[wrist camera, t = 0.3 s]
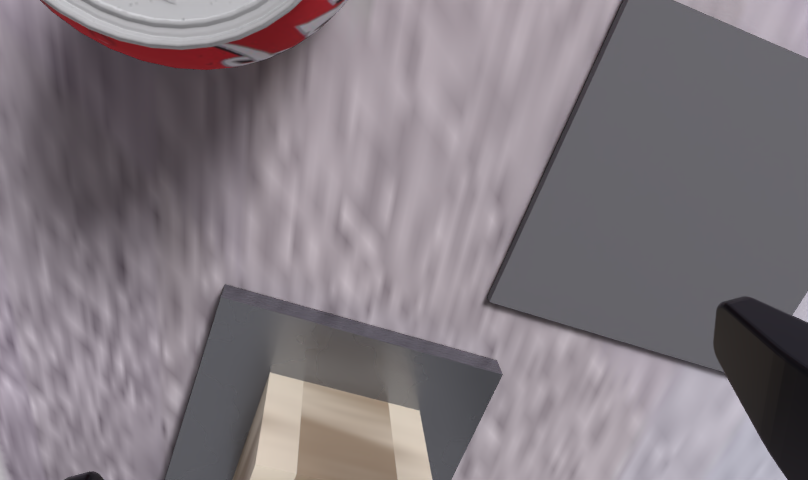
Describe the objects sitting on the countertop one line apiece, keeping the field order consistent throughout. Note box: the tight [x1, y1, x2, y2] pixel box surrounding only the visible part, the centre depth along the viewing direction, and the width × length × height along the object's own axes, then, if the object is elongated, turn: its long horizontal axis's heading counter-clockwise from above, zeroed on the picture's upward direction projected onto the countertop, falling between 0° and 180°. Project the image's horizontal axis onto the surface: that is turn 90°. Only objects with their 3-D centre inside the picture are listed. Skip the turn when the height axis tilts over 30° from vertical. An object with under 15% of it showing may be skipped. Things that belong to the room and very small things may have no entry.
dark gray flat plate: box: [487, 0, 808, 372], centre depth 25 cm, size 12×12×1 cm
